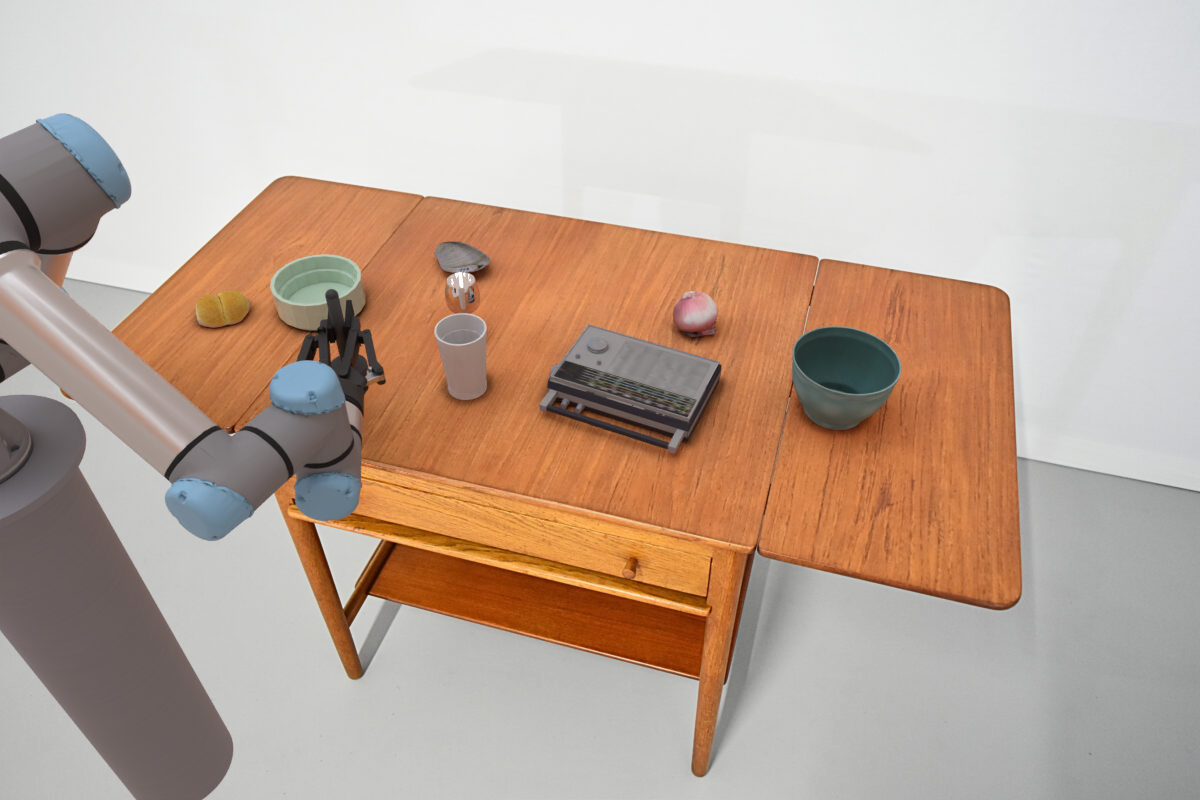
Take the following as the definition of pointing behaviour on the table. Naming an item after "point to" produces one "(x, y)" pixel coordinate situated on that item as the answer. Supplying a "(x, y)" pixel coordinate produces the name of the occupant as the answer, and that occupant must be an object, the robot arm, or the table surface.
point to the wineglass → (462, 293)
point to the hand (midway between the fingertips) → (341, 308)
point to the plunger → (341, 331)
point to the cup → (463, 354)
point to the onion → (695, 314)
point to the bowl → (315, 289)
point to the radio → (632, 386)
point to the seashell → (460, 257)
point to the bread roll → (221, 309)
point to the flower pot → (843, 375)
